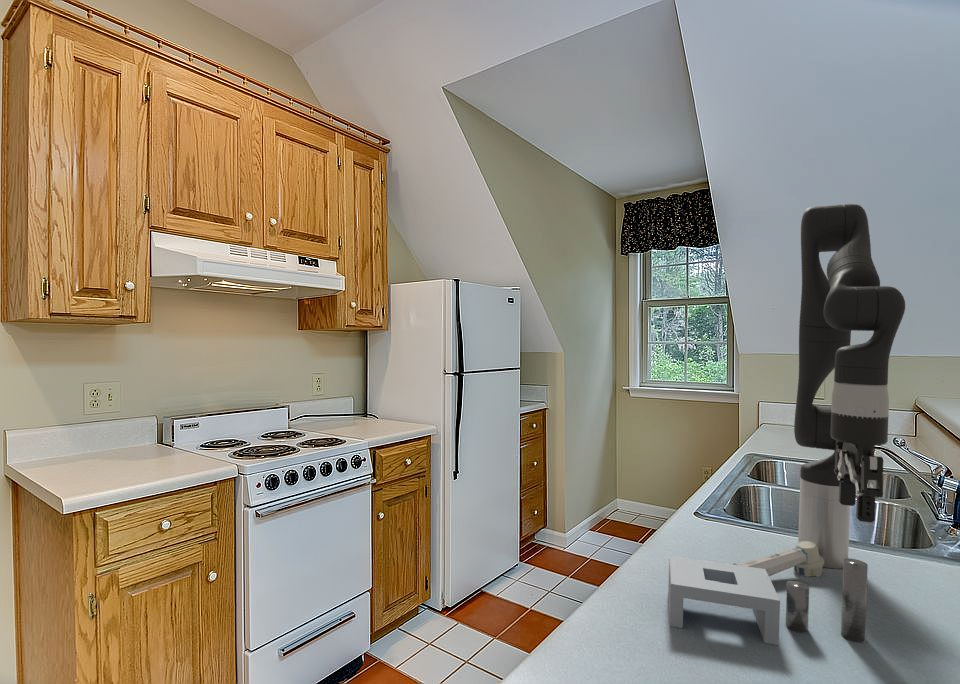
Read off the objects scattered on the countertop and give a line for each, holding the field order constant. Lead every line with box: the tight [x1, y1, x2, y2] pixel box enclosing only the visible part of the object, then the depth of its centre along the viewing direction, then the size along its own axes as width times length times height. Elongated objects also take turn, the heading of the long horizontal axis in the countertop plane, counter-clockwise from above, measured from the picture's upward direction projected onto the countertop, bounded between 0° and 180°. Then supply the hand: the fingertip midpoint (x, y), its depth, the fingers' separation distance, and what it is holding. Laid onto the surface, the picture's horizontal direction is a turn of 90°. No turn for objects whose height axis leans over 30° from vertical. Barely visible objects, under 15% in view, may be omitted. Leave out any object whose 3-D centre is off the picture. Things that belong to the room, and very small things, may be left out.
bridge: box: [667, 555, 781, 646], centre depth 93 cm, size 12×16×7 cm
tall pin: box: [840, 557, 869, 643], centre depth 88 cm, size 3×3×12 cm
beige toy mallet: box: [721, 541, 824, 584], centre depth 108 cm, size 5×7×25 cm
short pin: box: [785, 580, 810, 634], centre depth 90 cm, size 3×3×7 cm
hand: (855, 512), depth 88 cm, fingers open, 8 cm apart
